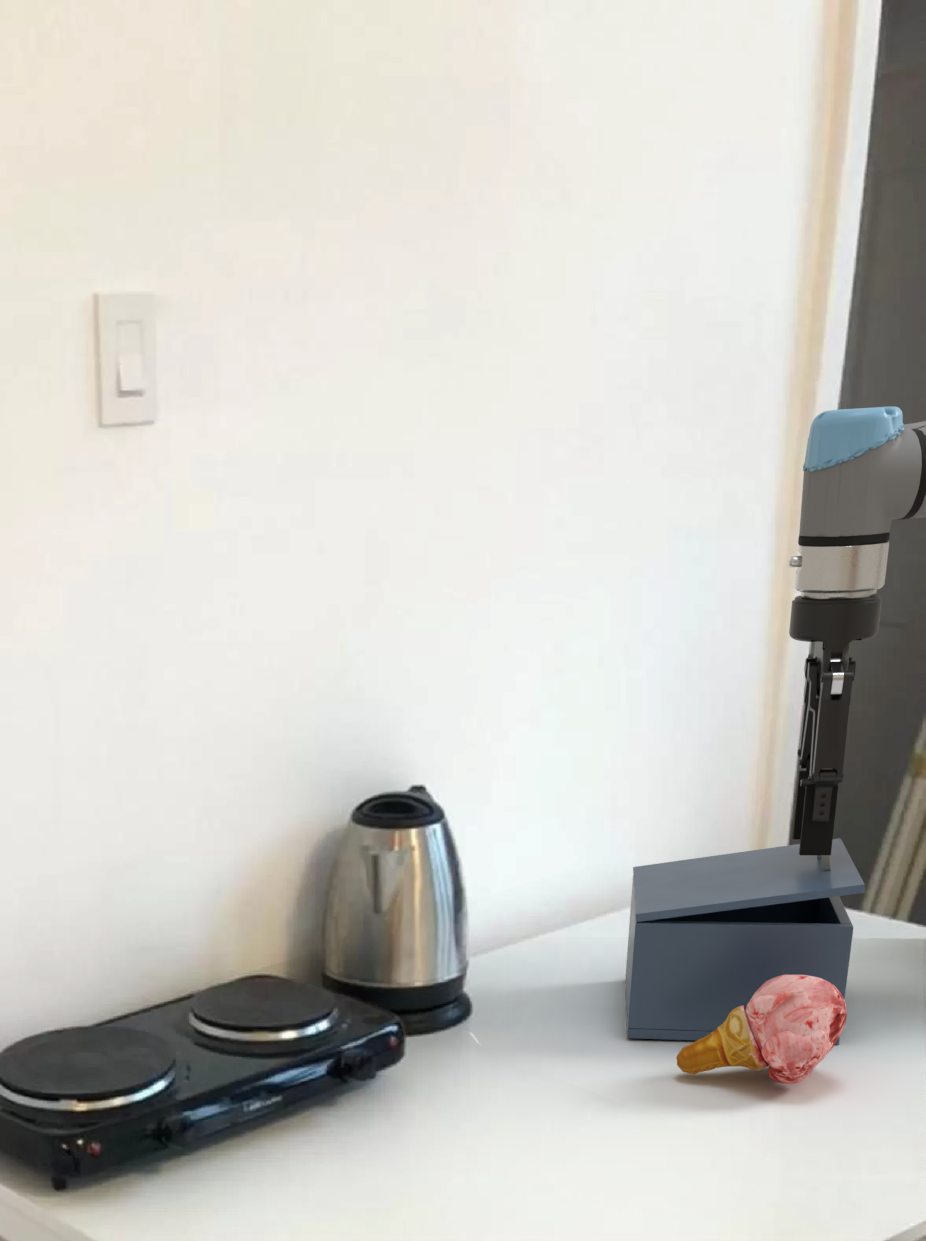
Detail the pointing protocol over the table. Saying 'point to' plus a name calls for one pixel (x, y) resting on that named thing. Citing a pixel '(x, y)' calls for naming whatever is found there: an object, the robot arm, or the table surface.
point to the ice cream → (774, 1031)
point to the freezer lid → (742, 881)
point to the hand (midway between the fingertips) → (811, 845)
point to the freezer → (726, 962)
